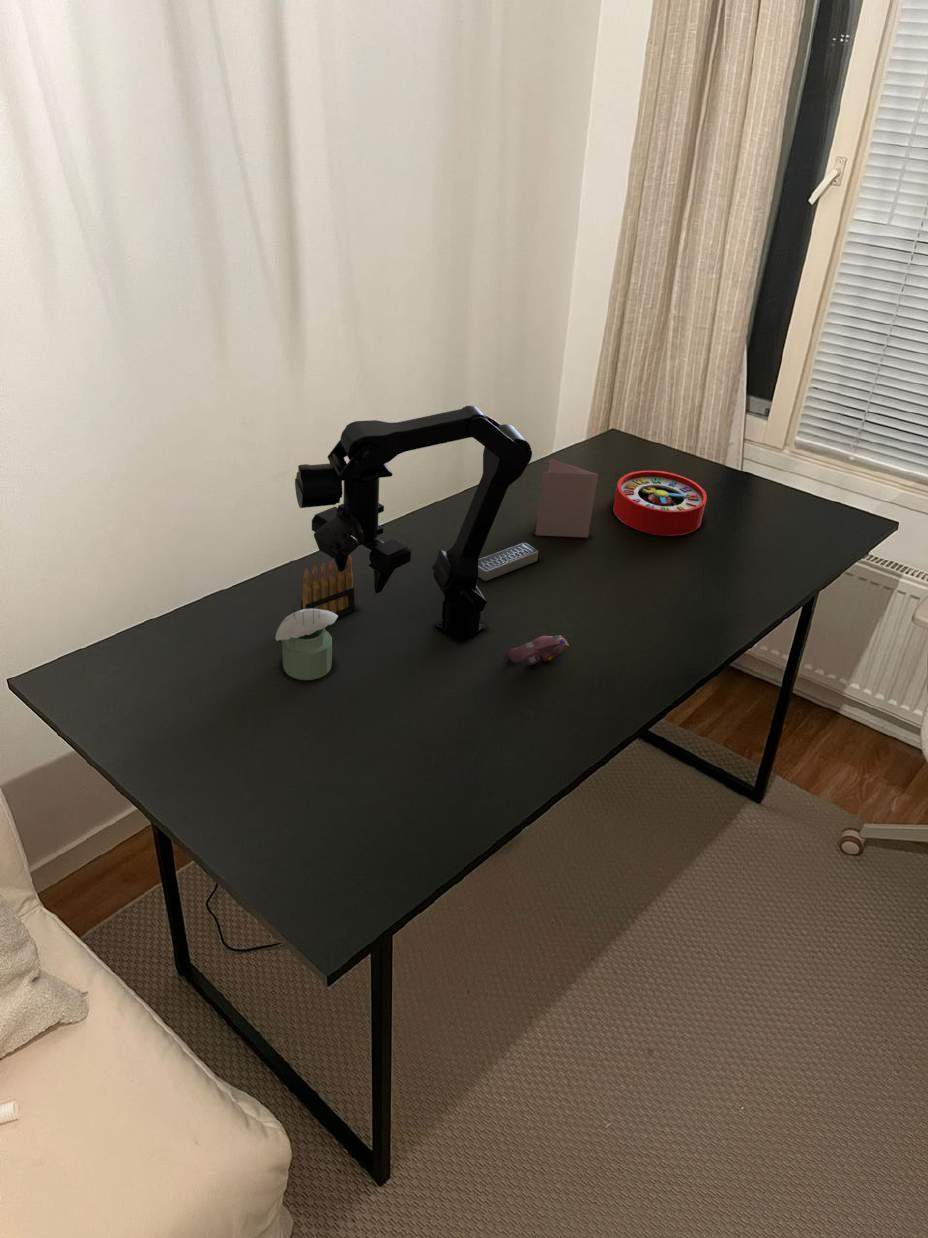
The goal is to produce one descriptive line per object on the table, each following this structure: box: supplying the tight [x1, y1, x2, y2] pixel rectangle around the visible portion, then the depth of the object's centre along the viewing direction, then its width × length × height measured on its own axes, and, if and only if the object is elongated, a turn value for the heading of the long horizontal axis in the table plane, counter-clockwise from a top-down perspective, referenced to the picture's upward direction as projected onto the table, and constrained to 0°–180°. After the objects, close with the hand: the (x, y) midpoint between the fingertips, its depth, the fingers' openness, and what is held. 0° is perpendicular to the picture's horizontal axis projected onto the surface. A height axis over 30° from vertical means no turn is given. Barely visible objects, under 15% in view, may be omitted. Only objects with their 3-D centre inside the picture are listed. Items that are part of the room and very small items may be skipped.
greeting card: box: [535, 458, 599, 538], centre depth 212 cm, size 11×7×15 cm, turn 58°
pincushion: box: [275, 595, 339, 642], centre depth 166 cm, size 12×6×6 cm, turn 131°
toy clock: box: [612, 470, 708, 537], centre depth 225 cm, size 20×6×20 cm
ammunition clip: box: [300, 554, 356, 618], centre depth 181 cm, size 11×2×12 cm, turn 129°
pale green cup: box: [281, 627, 333, 681], centre depth 170 cm, size 8×8×8 cm
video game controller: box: [508, 634, 570, 666], centre depth 176 cm, size 10×5×7 cm
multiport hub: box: [478, 542, 539, 582], centre depth 203 cm, size 4×14×2 cm, turn 130°
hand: (359, 581), depth 171 cm, fingers open, 9 cm apart
